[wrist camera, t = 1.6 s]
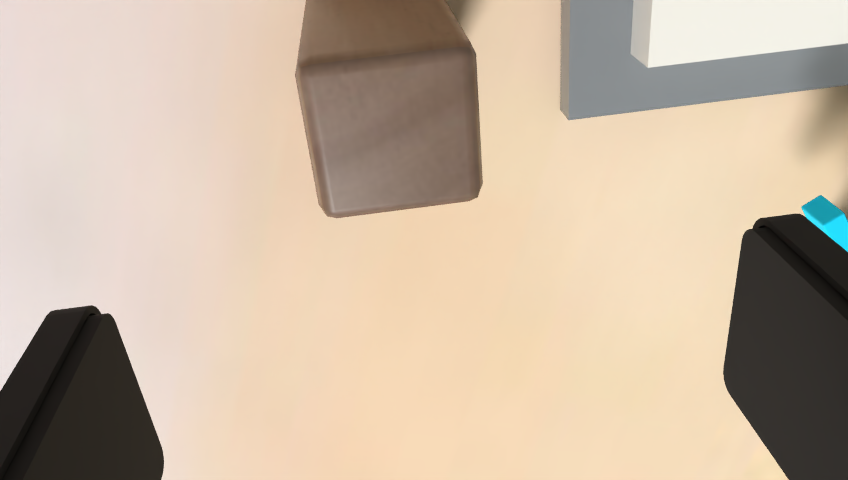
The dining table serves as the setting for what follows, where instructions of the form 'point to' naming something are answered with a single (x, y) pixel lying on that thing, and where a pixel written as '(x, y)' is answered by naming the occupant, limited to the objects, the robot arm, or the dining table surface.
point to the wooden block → (388, 105)
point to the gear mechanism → (828, 219)
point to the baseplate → (672, 83)
